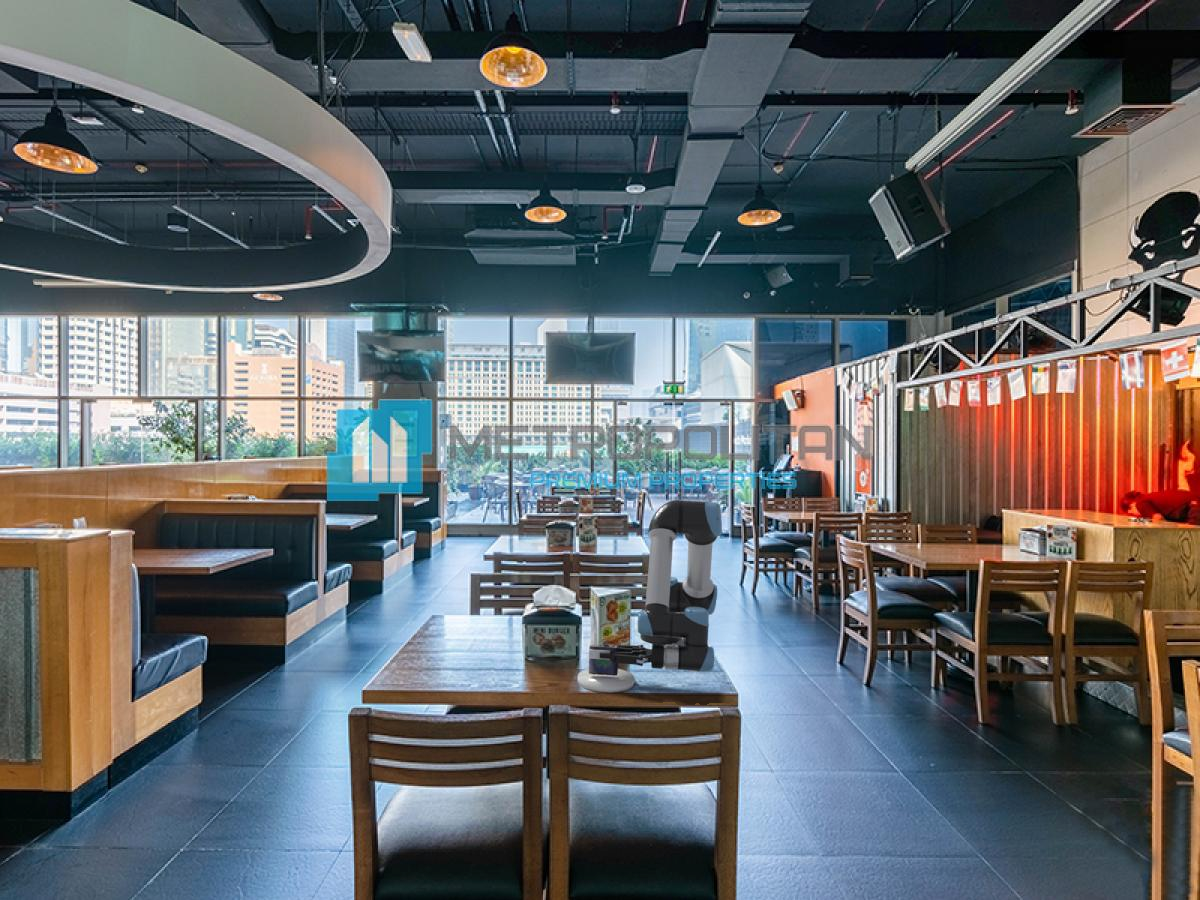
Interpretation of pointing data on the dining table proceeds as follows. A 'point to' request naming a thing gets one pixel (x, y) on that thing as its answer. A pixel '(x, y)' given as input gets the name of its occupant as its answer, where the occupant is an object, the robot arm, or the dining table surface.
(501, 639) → the dining table surface
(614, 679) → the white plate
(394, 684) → the dining table surface
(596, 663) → the flask
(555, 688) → the dining table surface
